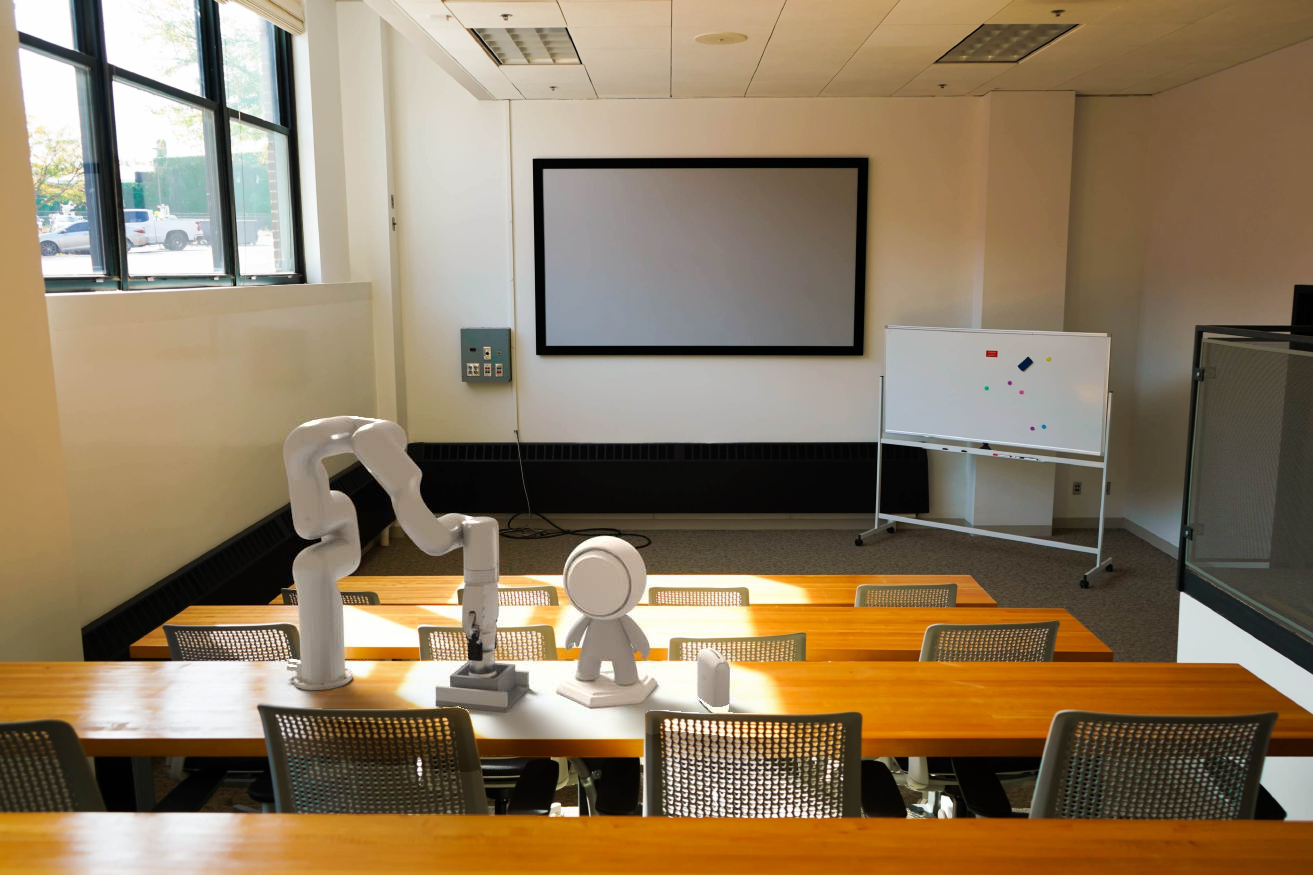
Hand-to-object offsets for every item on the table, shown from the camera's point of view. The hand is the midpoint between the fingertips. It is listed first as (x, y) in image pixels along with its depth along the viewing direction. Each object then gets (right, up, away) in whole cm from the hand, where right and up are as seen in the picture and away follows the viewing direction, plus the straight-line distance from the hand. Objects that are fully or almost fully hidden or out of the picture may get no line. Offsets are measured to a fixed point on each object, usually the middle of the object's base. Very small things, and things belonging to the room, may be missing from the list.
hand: (482, 653), depth 211 cm
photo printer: (+50, -11, -4) cm, 51 cm away
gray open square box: (0, -10, +1) cm, 10 cm away
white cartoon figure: (+27, -9, +6) cm, 29 cm away
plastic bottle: (0, -9, 0) cm, 9 cm away
